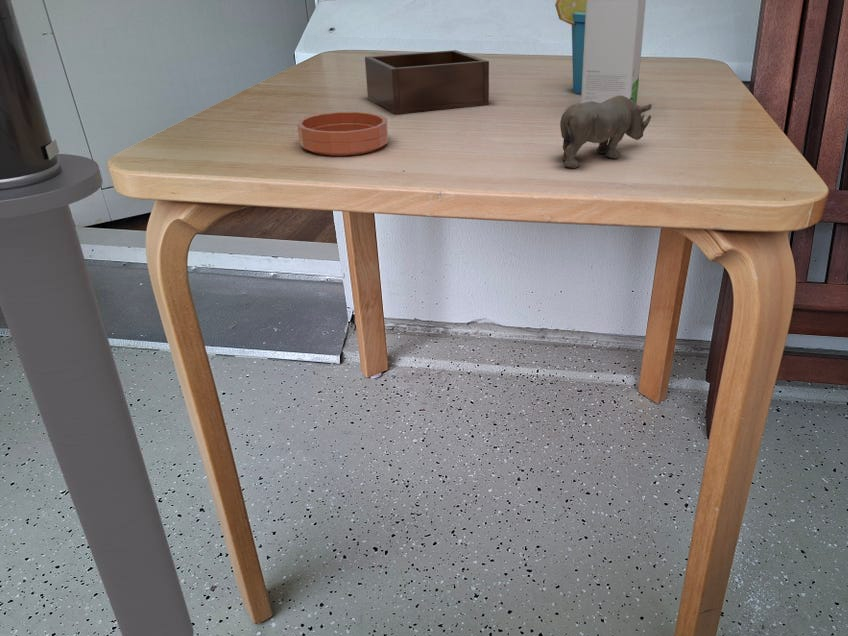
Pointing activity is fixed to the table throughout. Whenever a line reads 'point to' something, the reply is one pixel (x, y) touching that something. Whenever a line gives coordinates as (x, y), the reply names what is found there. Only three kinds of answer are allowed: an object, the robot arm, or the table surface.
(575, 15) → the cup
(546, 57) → the table surface
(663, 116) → the table surface
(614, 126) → the rhino figurine
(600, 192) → the table surface
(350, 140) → the bowl
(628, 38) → the cosmetic box
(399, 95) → the box
